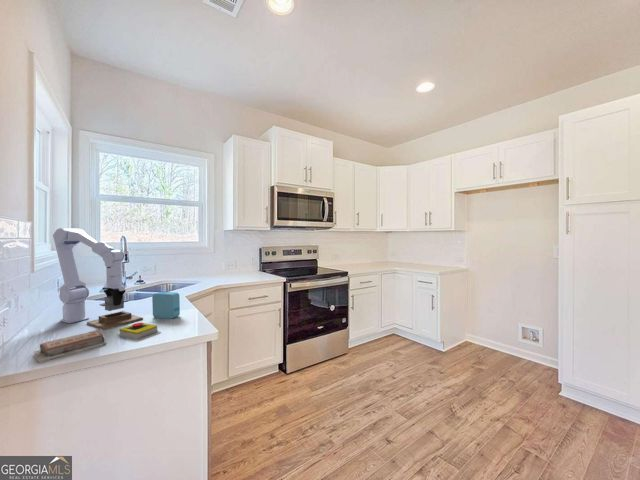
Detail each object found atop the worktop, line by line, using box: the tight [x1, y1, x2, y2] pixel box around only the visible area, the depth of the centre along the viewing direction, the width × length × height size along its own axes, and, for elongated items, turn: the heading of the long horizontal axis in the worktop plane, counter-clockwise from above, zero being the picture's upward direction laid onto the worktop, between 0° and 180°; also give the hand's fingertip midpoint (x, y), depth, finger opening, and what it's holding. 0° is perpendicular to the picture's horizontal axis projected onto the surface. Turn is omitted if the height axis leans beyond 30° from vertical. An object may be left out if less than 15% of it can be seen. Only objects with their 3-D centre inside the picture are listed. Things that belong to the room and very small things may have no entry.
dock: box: [86, 310, 144, 331], centre depth 130 cm, size 16×16×3 cm
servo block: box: [99, 295, 129, 312], centre depth 130 cm, size 4×10×7 cm, turn 151°
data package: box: [151, 291, 181, 320], centre depth 137 cm, size 12×4×12 cm, turn 77°
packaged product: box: [34, 330, 107, 364], centre depth 99 cm, size 18×5×10 cm
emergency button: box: [117, 322, 162, 341], centre depth 115 cm, size 9×4×15 cm
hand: (115, 304), depth 130 cm, fingers closed on servo block, 4 cm apart
